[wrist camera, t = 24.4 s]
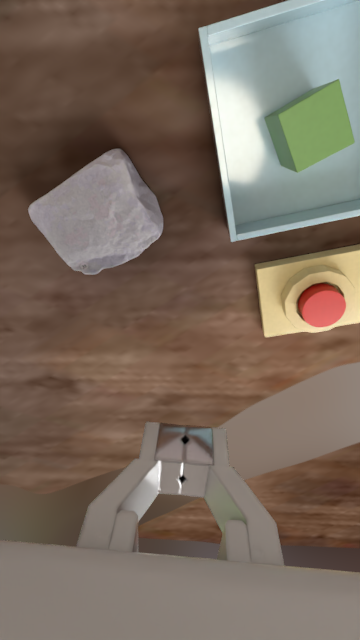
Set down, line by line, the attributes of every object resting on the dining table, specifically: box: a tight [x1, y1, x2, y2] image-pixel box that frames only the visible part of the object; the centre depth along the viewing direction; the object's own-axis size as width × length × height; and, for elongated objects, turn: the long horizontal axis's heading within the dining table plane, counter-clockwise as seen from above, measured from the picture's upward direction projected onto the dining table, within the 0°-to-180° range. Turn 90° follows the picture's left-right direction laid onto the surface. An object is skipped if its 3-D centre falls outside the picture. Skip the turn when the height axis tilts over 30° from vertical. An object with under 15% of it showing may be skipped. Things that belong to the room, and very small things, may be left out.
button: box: [298, 284, 346, 327], centre depth 35 cm, size 4×4×2 cm
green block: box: [264, 79, 355, 173], centre depth 27 cm, size 4×4×6 cm
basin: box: [198, 0, 360, 242], centre depth 28 cm, size 15×16×4 cm
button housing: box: [255, 244, 360, 337], centre depth 37 cm, size 12×9×4 cm
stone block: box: [28, 149, 163, 275], centre depth 34 cm, size 12×5×10 cm
